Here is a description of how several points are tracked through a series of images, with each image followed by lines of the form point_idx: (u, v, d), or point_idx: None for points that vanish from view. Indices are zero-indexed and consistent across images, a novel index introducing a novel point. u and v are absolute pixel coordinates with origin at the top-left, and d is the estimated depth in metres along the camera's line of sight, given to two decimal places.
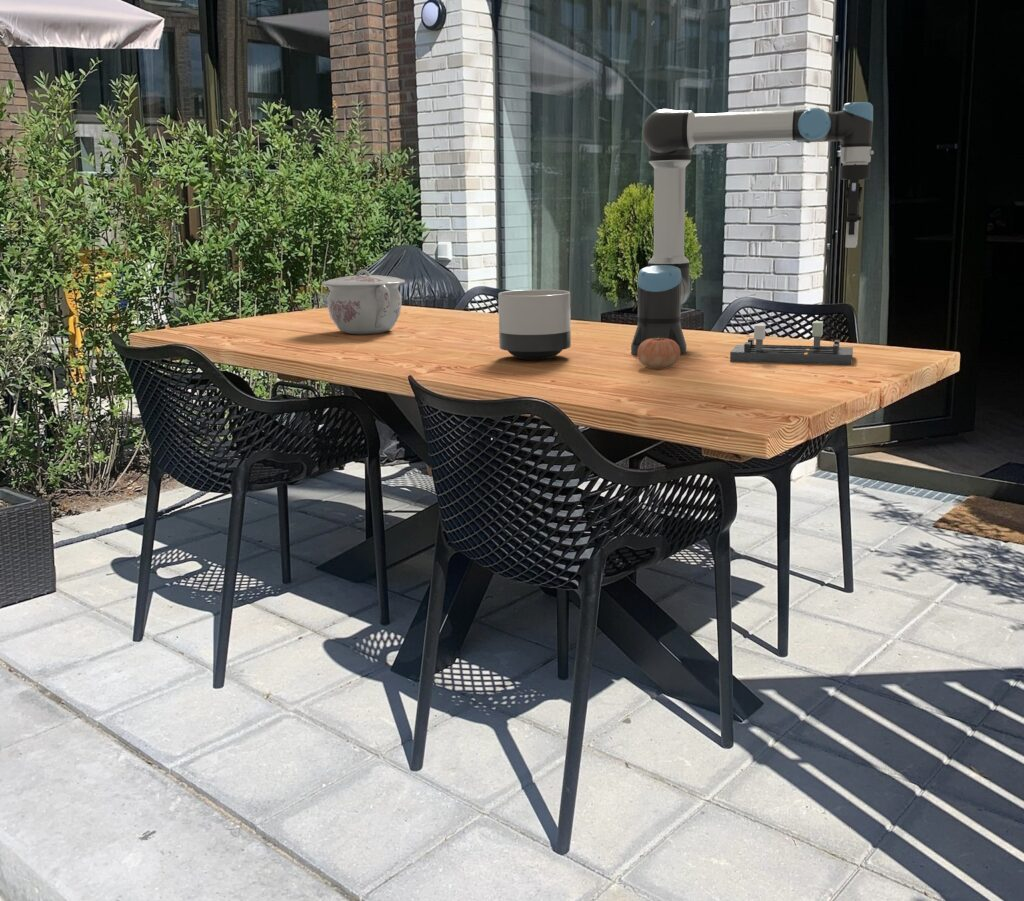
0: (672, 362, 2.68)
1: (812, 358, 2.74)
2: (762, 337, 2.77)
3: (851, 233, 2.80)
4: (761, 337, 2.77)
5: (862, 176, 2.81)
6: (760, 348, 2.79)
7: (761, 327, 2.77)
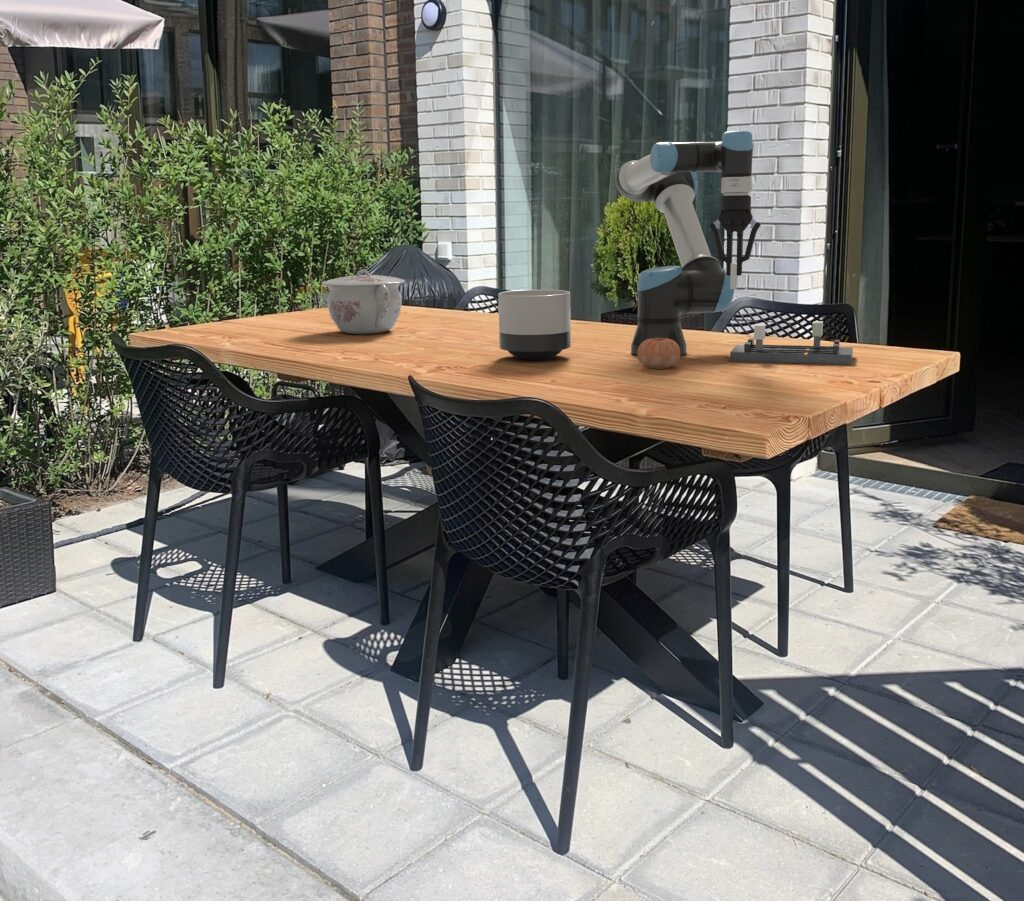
0: (672, 362, 2.68)
1: (812, 358, 2.74)
2: (762, 337, 2.77)
3: (726, 274, 2.78)
4: (761, 337, 2.77)
5: (721, 208, 2.73)
6: (760, 348, 2.79)
7: (761, 327, 2.77)
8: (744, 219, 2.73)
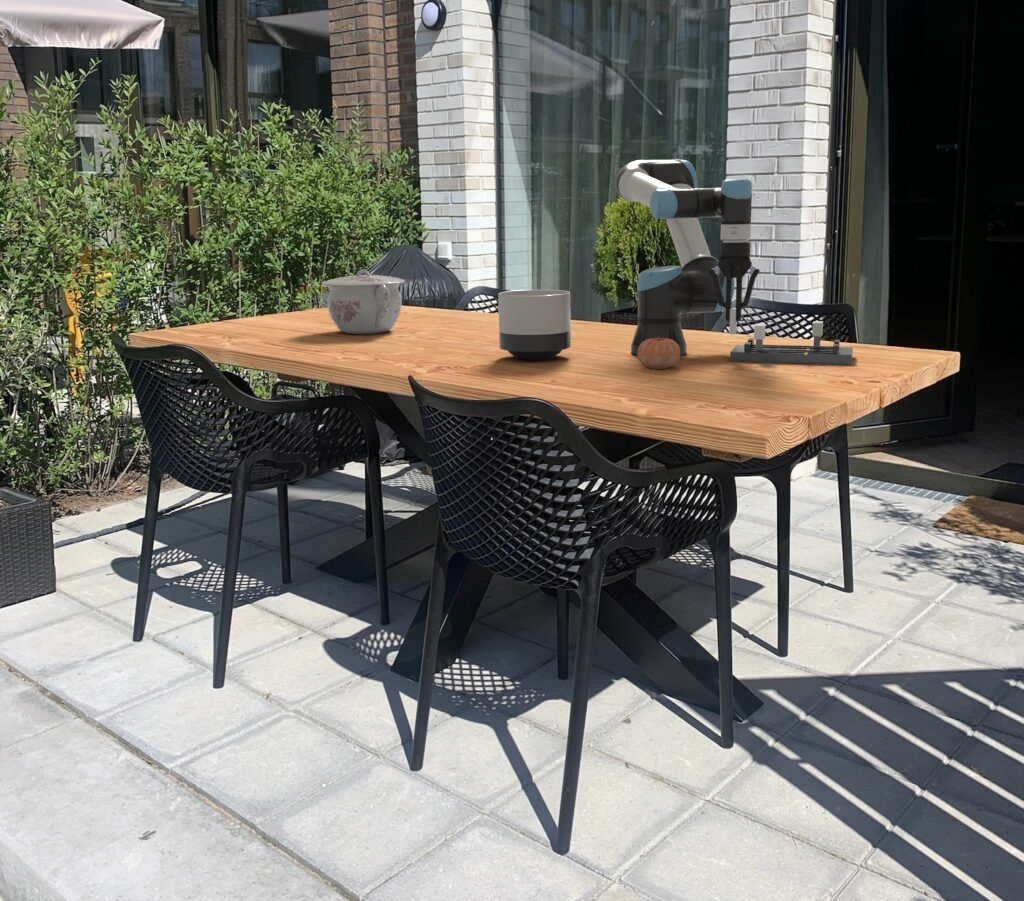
0: (672, 362, 2.68)
1: (812, 358, 2.74)
2: (762, 337, 2.77)
3: (726, 319, 2.81)
4: (761, 337, 2.77)
5: (721, 254, 2.76)
6: (760, 348, 2.79)
7: (761, 327, 2.77)
8: (743, 266, 2.76)
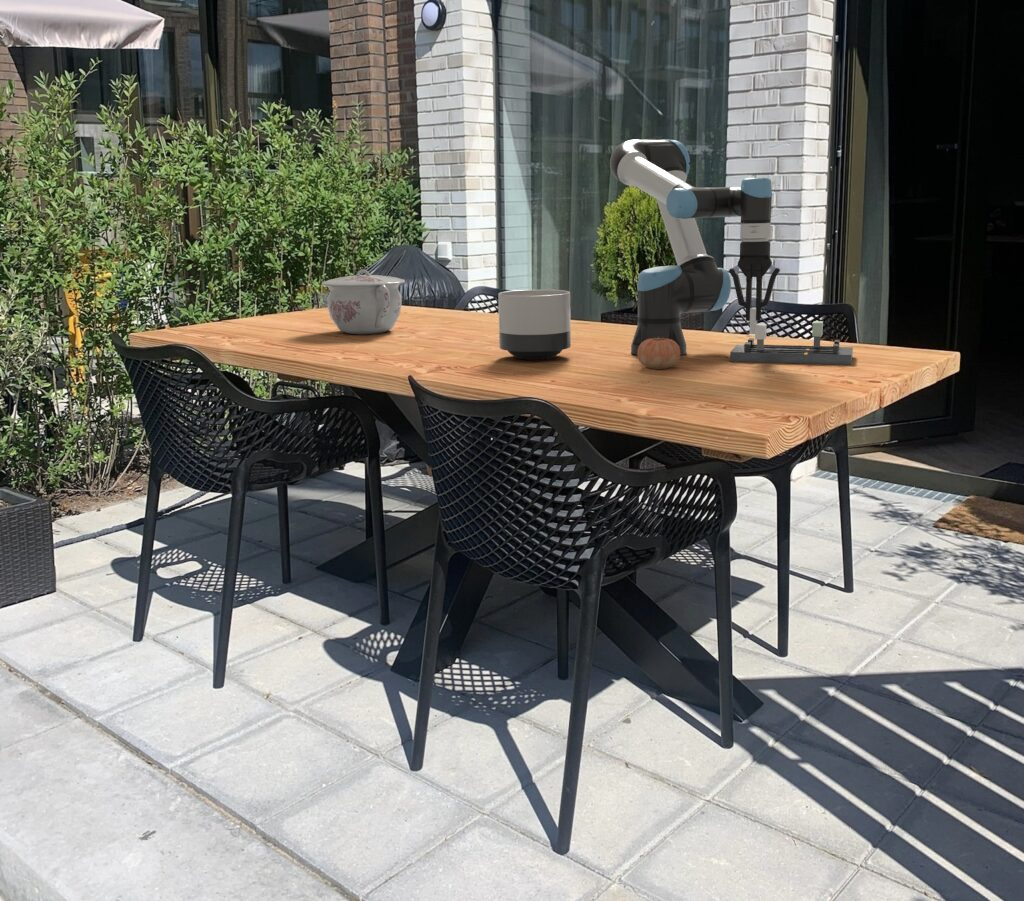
0: (672, 362, 2.68)
1: (812, 358, 2.74)
2: (763, 337, 2.77)
3: (746, 318, 2.79)
4: (762, 337, 2.77)
5: (741, 253, 2.74)
6: (761, 348, 2.79)
7: (762, 327, 2.77)
8: (763, 265, 2.74)
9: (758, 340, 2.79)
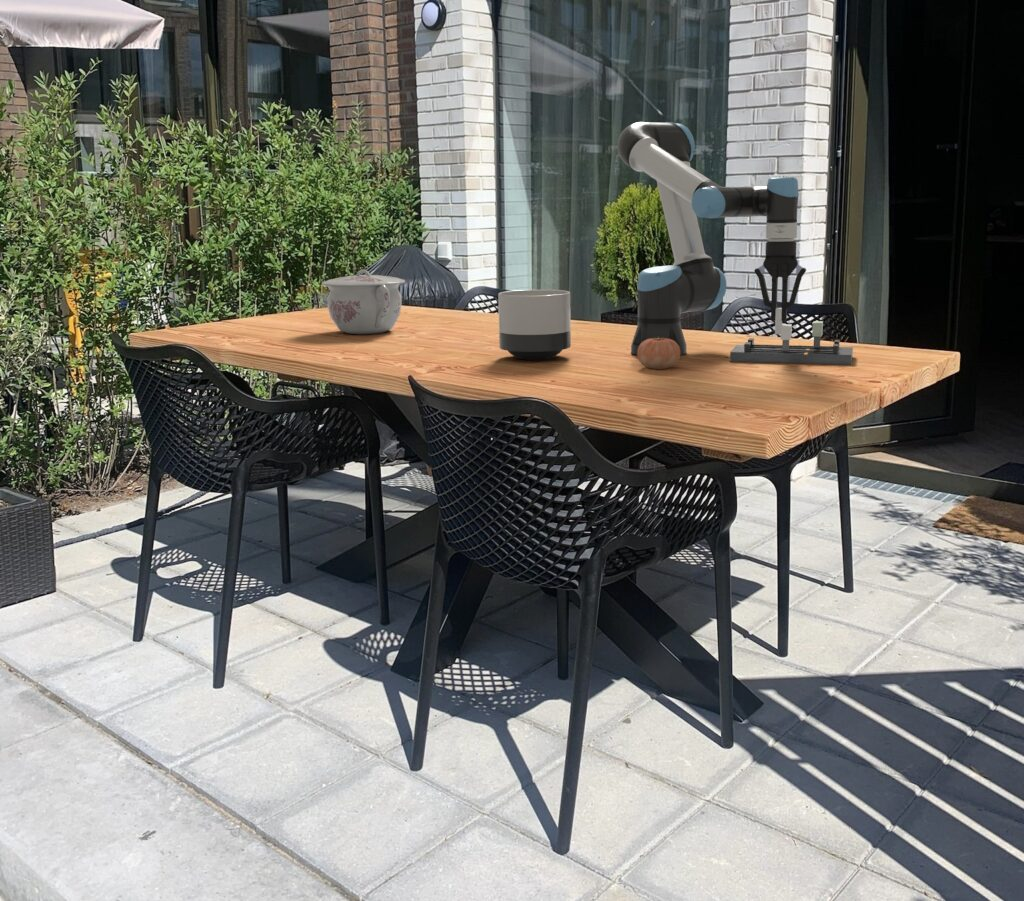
0: (672, 362, 2.68)
1: (812, 358, 2.74)
2: (789, 338, 2.75)
3: None
4: (788, 338, 2.75)
5: (767, 253, 2.72)
6: (787, 349, 2.77)
7: (788, 327, 2.75)
8: (789, 265, 2.72)
9: (783, 341, 2.77)
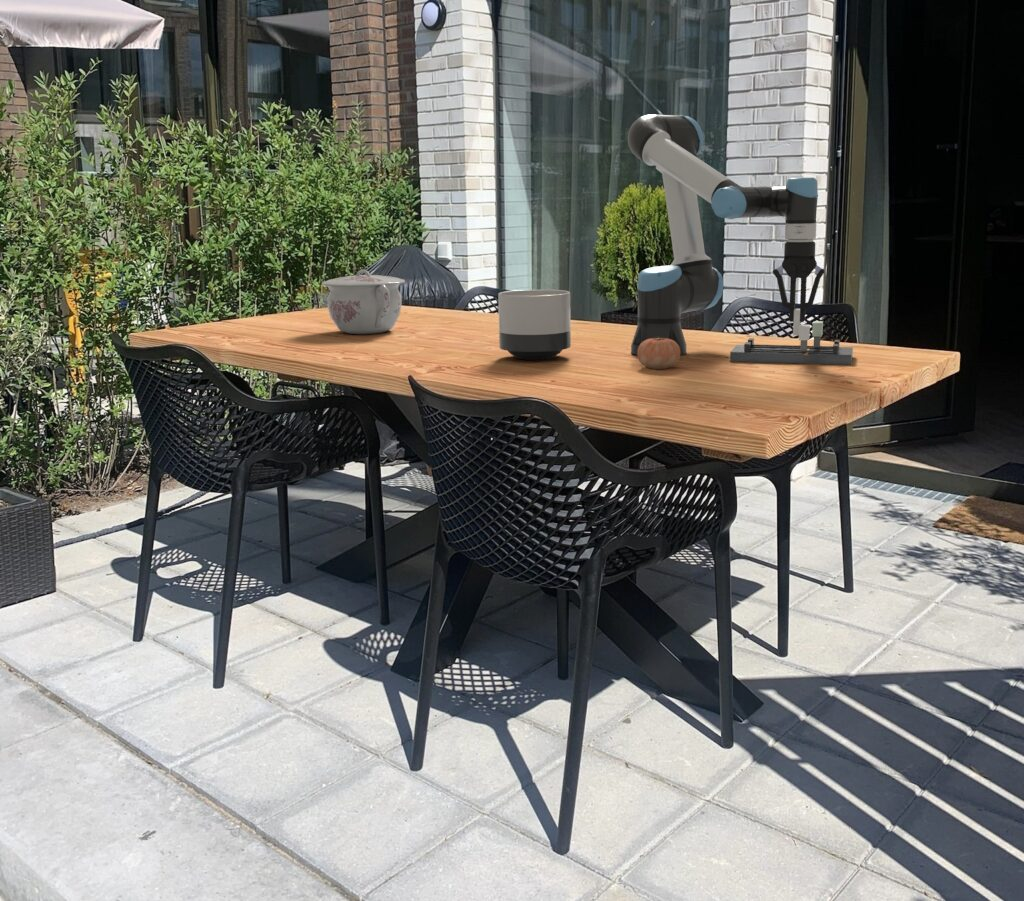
0: (672, 362, 2.68)
1: (812, 358, 2.74)
2: (807, 338, 2.74)
3: None
4: (806, 338, 2.74)
5: (785, 254, 2.71)
6: (805, 349, 2.76)
7: (806, 328, 2.73)
8: (808, 265, 2.71)
9: (802, 341, 2.76)
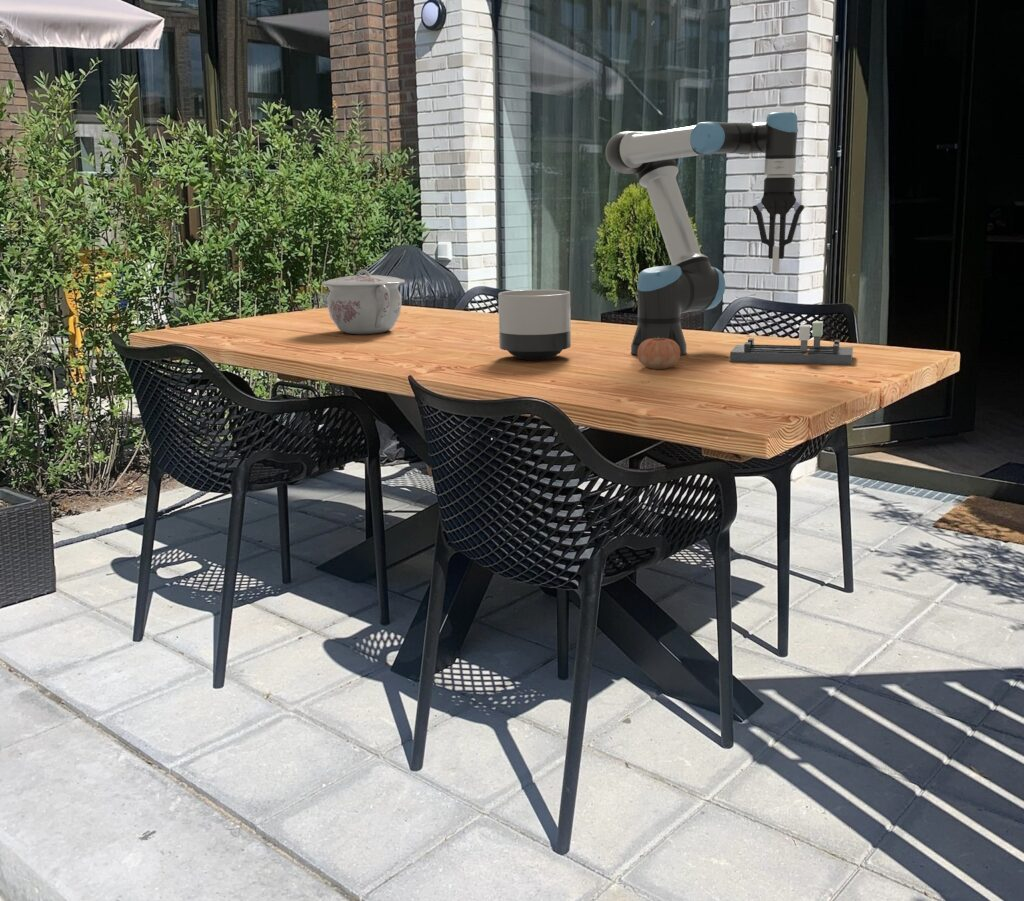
0: (672, 362, 2.68)
1: (812, 358, 2.74)
2: (807, 338, 2.74)
3: None
4: (806, 338, 2.74)
5: (765, 190, 2.71)
6: (805, 349, 2.76)
7: (806, 328, 2.73)
8: (787, 202, 2.70)
9: (802, 341, 2.76)
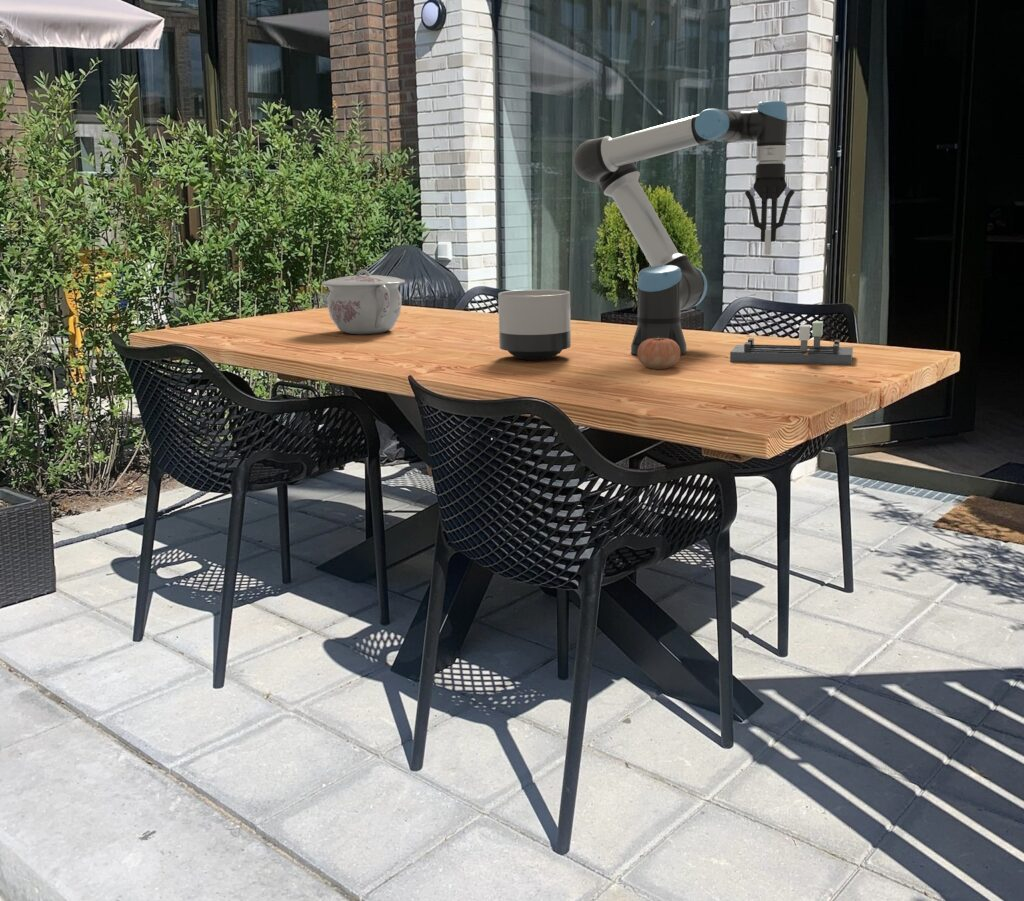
0: (672, 362, 2.68)
1: (812, 358, 2.74)
2: (807, 338, 2.74)
3: (761, 240, 2.88)
4: (806, 338, 2.74)
5: (757, 175, 2.83)
6: (805, 349, 2.76)
7: (806, 328, 2.73)
8: (778, 187, 2.83)
9: (802, 341, 2.76)
